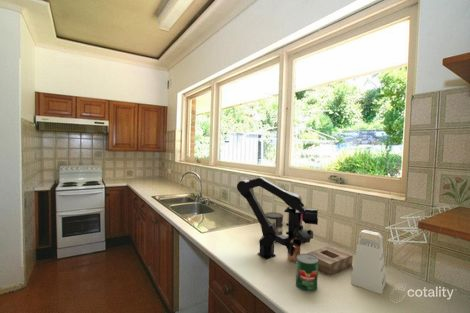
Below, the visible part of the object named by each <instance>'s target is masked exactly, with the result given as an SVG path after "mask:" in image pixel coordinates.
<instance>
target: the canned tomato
mask: <svg viewBox="0 0 470 313" xmlns="http://www.w3.org/2000/svg"><path fill="white" fill-rule="evenodd" d="M295 265H296V266H295V268H296V269H295V270H296V271H295V273H296V274H295V287H296V288H297V289H298V290H299V291H302V292H303V293H315V292H316V291H317V290H318V280H319V279H318V278H319V276H318V274H319V273H318V272H319V270H318V258H317V257H316V256H314V255H311V254H307V253H300V254H299V255H297V262H296V264H295Z"/></svg>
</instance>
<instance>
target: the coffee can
mask: <svg viewBox="0 0 470 313" xmlns="http://www.w3.org/2000/svg"><path fill="white" fill-rule="evenodd" d="M265 215H266V217H267V219H268V220H269V221H270V222H271V223H273V222H274V223H275V225H276V227H277V228H278V235H284V234H283V233H284V232H283V230H284V214H283V213H281V212H273V211H272V212H266V213H265ZM278 235H277V236H278ZM274 243H276V242H275V241H274Z"/></svg>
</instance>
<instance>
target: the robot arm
mask: <svg viewBox="0 0 470 313" xmlns="http://www.w3.org/2000/svg"><path fill="white" fill-rule="evenodd" d="M257 187H261V189H263V190H266V191H267V192H269V193H270V194H272V195H274V196H276V197H278V198H279V199H281V200H282V202H284V203H285V204H286V205H287V207H286V208H285V209H284V213H288V215H287V216H288V217H287V218H288V219H287V220H288V221H287V223H286V224H285V225H286V226H287V231H286V232H285V234H286V235H287V236H286V235H284V234H283V235H278V228H277V227H276V225H275V223H274V222H273V223H271V222H270V221H269V220H268V219H267V217H266V215H265V214H266V213H265V212H264V210H263V208H262V206H261V204H260V203H259V200H258V199H257V197H256V195H255V192H254V189H255V188H257ZM236 189H237V190H236V191H238V192H239V194H240V195H241V196H242V197H243V198H244V199H246V201H247V203H248V205H249V206H250V208H251V210H252V212H253V213H254V216H255V217H256V219H257V221H258V222H259V225H260V228H261V233H262V235H261V237H260V239H259V240H258V241H259V242H258V243H259V252H257V255H258V256H260V257H262V258H263V259H265V260H268V259H271V258H274V257H276V256H277V255H276V254H275V243H276V244H279V245H281V246H283V247H284V246H285V247H286V249H287V253H288V252H289V254H290V256H292V255H293V246H294V245H295V244H297V245H299V246H300V247H301V246H302V244H303V245H304V244H307V243H310V242H311V239H314V231H313V229H304V225H303V224H302V225H301V214H303V217H302V222H303V223H305V224H307V225H315V226H317V225H318V224H319V215H318V213H319V212H318V211H319V210H318V209H317V208H307V207H306V205H305V204H304V202H302V201H303V198H302V197H301V195H299V194H298V193H294V192H293V191H292V192H291V191H288V190H284V189H283V188H281V187H279V186H278V185H276V184H274V183H272V182H271V181H269V180H267V179H265V178H264V177H262V176H260V177H256V178H253V179H250V180H249V179H246V178H245V179H243V180H240V181H239V182H238V183H237V184H236ZM277 235H278V236H277ZM274 241H275V242H274Z"/></svg>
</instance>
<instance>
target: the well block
mask: <svg viewBox="0 0 470 313" xmlns="http://www.w3.org/2000/svg"><path fill="white" fill-rule="evenodd" d="M306 254H311V255H314V256H316V257H317V258H318V272H321V273H323V274H325V275H327V276H329V277H331V276H333V275H335V274H337V273H340V272H342V271H345V270H346V269H348V268H351V267H353V261H354V260H353V258H354V257H353V256H354V255H353V254H351V253H349V252H346V251H343V250H341V249H339V248H336V247H334V246H331V245H327V246H324V247H322V248H321V247H320V248H318V249H315V250H313V251H308V252H306Z"/></svg>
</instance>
